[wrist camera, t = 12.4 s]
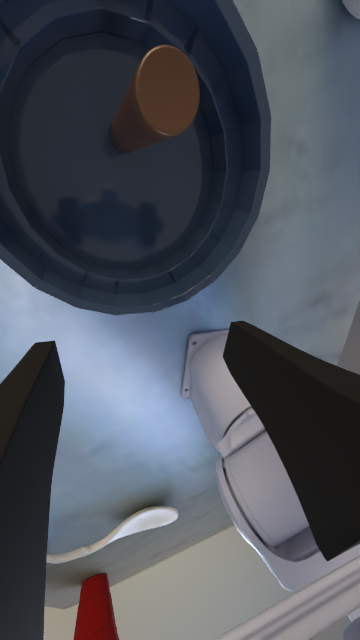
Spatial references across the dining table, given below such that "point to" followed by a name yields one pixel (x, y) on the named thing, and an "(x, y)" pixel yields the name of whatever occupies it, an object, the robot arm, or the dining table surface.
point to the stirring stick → (156, 100)
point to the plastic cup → (95, 611)
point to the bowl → (125, 168)
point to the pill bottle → (353, 7)
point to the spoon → (123, 531)
